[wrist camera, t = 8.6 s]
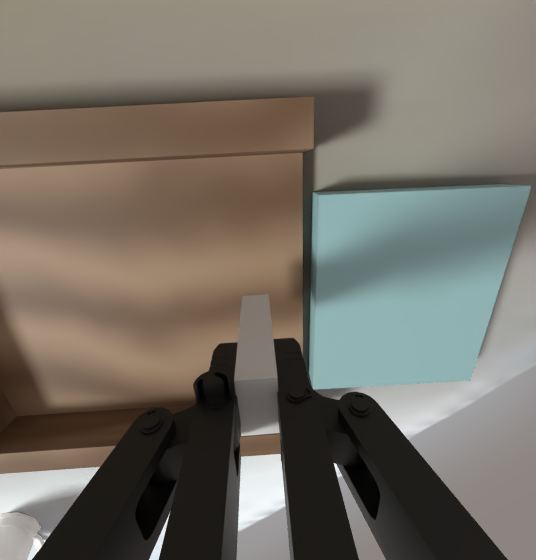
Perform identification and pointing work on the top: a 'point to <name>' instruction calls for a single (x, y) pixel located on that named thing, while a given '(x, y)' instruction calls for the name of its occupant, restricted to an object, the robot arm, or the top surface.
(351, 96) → the top surface
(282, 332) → the walnut box
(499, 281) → the cover plate
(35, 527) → the cup
